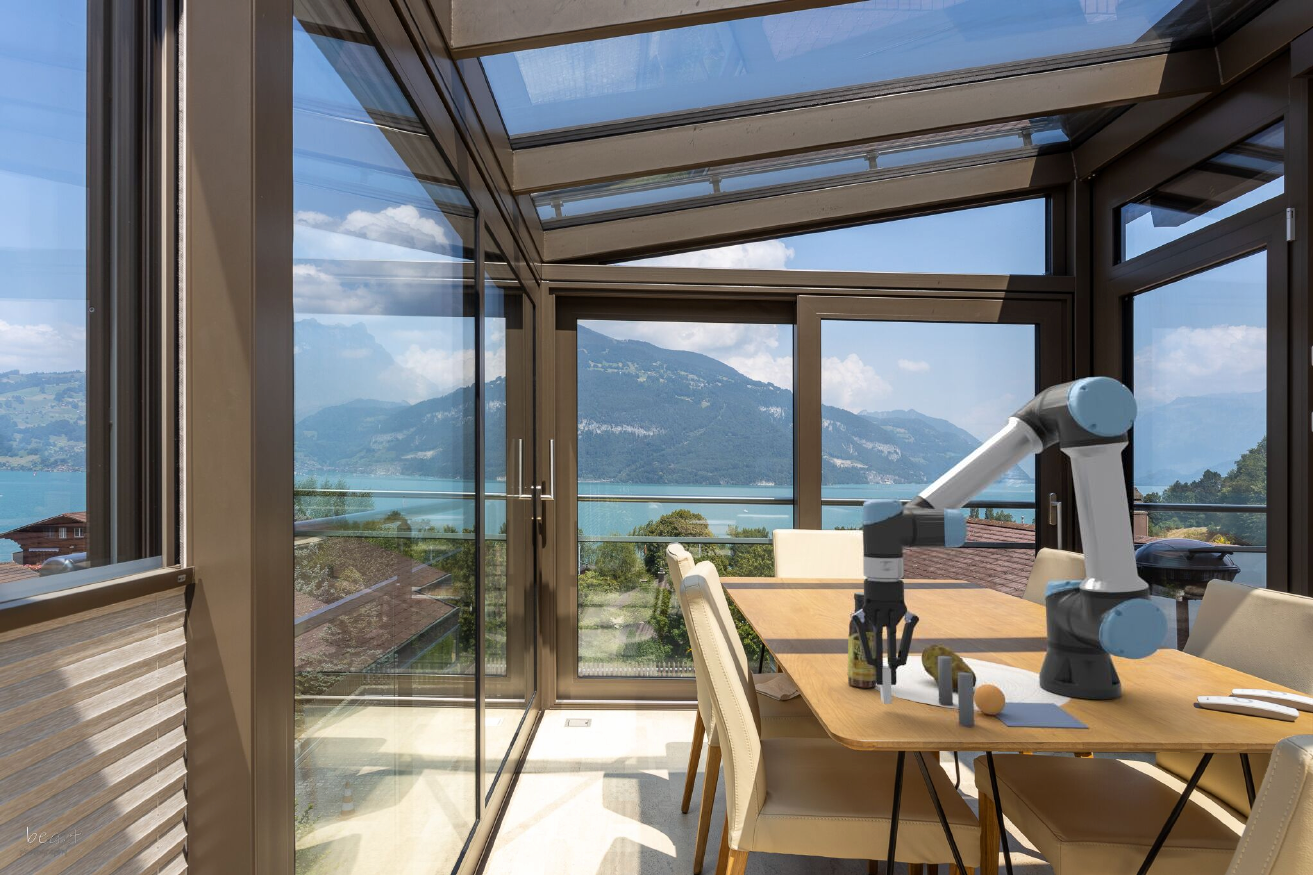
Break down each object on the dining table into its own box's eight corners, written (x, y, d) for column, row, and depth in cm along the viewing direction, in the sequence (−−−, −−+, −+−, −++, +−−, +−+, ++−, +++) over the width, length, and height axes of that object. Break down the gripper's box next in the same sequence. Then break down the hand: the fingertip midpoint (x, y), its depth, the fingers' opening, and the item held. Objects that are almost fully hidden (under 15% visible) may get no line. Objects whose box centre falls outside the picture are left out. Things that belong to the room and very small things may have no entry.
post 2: (971, 721, 136) (970, 672, 136) (976, 726, 133) (975, 676, 134) (957, 721, 136) (955, 672, 136) (961, 726, 133) (960, 676, 134)
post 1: (950, 701, 148) (949, 655, 149) (954, 705, 146) (953, 659, 146) (937, 700, 148) (936, 655, 149) (941, 704, 146) (939, 658, 146)
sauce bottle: (852, 689, 157) (850, 595, 158) (844, 681, 163) (842, 590, 164) (883, 689, 157) (881, 595, 158) (873, 680, 163) (871, 590, 164)
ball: (974, 712, 143) (1002, 706, 143) (984, 721, 138) (1013, 715, 137) (966, 684, 143) (994, 678, 143) (976, 692, 138) (1005, 686, 138)
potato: (942, 695, 153) (941, 655, 153) (916, 678, 165) (916, 642, 166) (981, 694, 153) (980, 655, 153) (952, 677, 166) (951, 641, 166)
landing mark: (1053, 704, 146) (1053, 703, 146) (1088, 728, 132) (1088, 727, 132) (980, 702, 147) (980, 701, 147) (1007, 726, 133) (1007, 725, 133)
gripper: (852, 581, 140) (855, 706, 139) (923, 581, 139) (926, 708, 138) (846, 575, 148) (848, 695, 146) (912, 576, 146) (915, 696, 145)
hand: (886, 701), depth 142 cm, fingers closed
